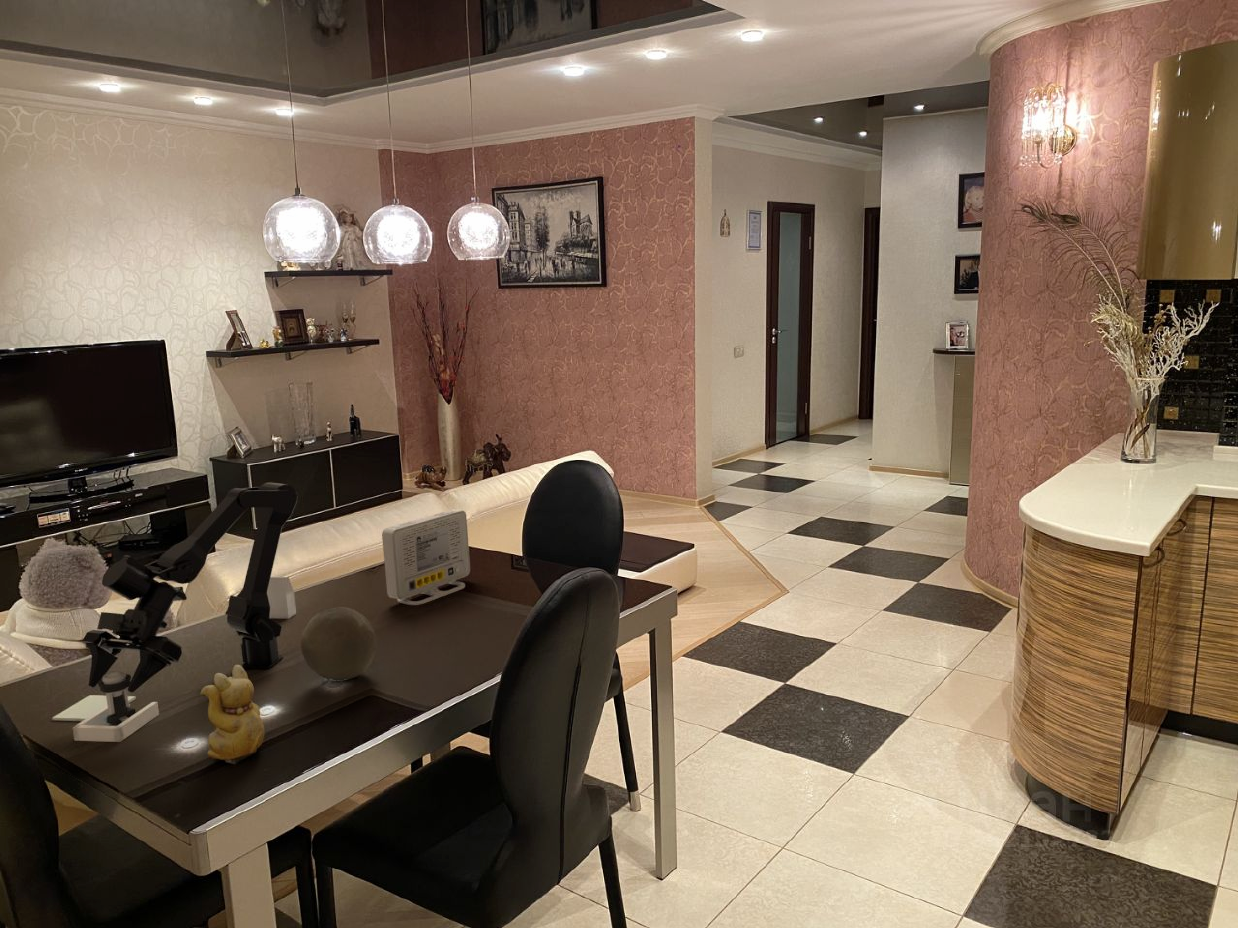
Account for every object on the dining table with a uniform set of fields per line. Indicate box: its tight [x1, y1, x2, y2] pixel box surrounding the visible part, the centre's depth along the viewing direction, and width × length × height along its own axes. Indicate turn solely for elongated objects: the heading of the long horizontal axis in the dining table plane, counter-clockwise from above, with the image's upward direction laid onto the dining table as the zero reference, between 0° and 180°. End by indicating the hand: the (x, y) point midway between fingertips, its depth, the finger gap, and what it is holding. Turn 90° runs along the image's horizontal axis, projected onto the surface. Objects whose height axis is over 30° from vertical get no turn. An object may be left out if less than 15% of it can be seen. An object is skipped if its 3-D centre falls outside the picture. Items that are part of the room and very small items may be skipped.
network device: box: [381, 508, 471, 606], centre depth 239 cm, size 26×9×20 cm, turn 144°
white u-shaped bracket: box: [72, 701, 160, 743], centre depth 169 cm, size 9×11×2 cm
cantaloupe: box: [300, 606, 377, 682], centre depth 185 cm, size 14×14×15 cm
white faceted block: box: [267, 576, 297, 619], centre depth 227 cm, size 4×7×10 cm, turn 81°
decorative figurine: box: [200, 664, 266, 765], centre depth 155 cm, size 10×8×15 cm
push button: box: [97, 670, 137, 726], centre depth 168 cm, size 7×5×10 cm
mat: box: [52, 694, 137, 722], centre depth 177 cm, size 10×10×1 cm
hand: (110, 689), depth 167 cm, fingers open, 9 cm apart
